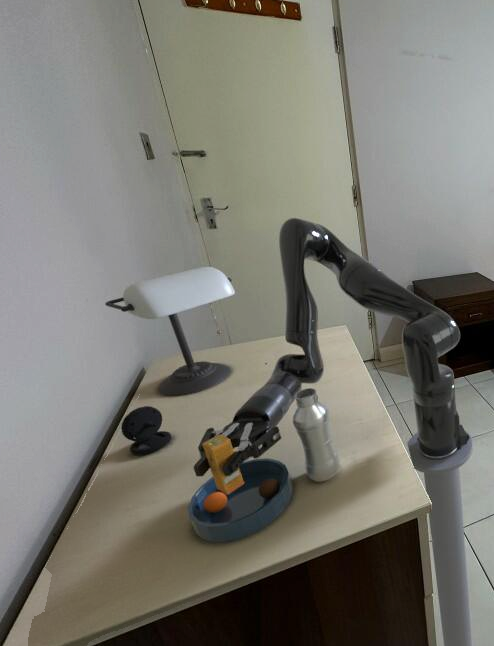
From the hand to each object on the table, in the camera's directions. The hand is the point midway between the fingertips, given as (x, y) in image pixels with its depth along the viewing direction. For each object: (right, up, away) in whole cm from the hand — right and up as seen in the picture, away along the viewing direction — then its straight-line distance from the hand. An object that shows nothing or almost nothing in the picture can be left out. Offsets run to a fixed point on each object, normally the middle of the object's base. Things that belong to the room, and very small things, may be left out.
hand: (211, 472), depth 66 cm
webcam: (-33, -4, +27) cm, 43 cm away
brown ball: (+3, -7, +11) cm, 13 cm away
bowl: (-1, -10, +10) cm, 14 cm away
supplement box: (0, -5, +5) cm, 7 cm away
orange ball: (-5, -9, +8) cm, 13 cm away
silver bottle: (+12, -7, +17) cm, 22 cm away
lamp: (-41, +7, +53) cm, 67 cm away
